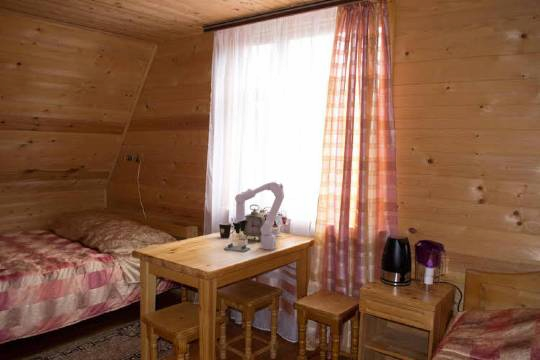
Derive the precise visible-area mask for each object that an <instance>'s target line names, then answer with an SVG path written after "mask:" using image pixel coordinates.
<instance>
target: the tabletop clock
mask: <svg viewBox="0 0 540 360" xmlns="http://www.w3.org/2000/svg"><path fill="white" fill-rule="evenodd" d="M252 206H255V207H258V208H257V209H256V208H251V207H252ZM249 209H250V210H251V213H249V214H245V217H246V220H247V223H246V226H245V230H244V231H242V234H243V235H245V238H247V239H248V237H253V240H256V238H257V237H258V241H259V242H261V230H260V229H261V227H262V226H263V225H264V223H265V221H266V218H265V216H264V215H262V214H259V213H258V211H259V210H260V205H258V204H250V205H249Z"/></svg>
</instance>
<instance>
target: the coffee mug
mask: <svg viewBox="0 0 540 360" xmlns="http://www.w3.org/2000/svg"><path fill="white" fill-rule="evenodd" d="M218 225H219V236H220V237H219V238H221V239H230V238H229V237H230V236H231V235H232V233H234V232H236V231H235V227H234V225H233V226H232V223H231V222H227V221H225V222H223V221H222V222H219V224H218ZM232 228H233V230H232ZM231 230H232V231H231Z"/></svg>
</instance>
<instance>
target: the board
mask: <svg viewBox="0 0 540 360" xmlns="http://www.w3.org/2000/svg"><path fill="white" fill-rule="evenodd" d="M223 250H224V251H231V252H238V253H246V252H248V251H250V250H251V247H248V246H246V245H244V246H238V245H234V243H228V245H227V246H226V247H224V248H223Z"/></svg>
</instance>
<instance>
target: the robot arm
mask: <svg viewBox="0 0 540 360" xmlns="http://www.w3.org/2000/svg"><path fill="white" fill-rule="evenodd" d="M264 191H271V193H273V195H274V197H275V198H274V200H273V203H272V205H271V208H270V211H269V213H268V216H267V217H266V219H265V223H264V225H263V226H262V227H261V229H260V230H261V236H260V239H261V241H260V246H259V247H258V249H262V250H264V249H265V250H270V251H272V250H274V249H276V248H277V235H275V234H273V231H274V224H275V220H276V217H277V215H278V212H279V211H280V207H281V205H282V203H283V200H284V198H285V193H284V185H283V184H282V182H281V181H280V180H275V181H271V182H268V183H265V184H263V185H260V186H258V187H256V188H247V190H245V191H241V192H240V193H238V194H236V195H235V197H234V200H235V203H236V204H235V207H236V209H235V217H234V220H233V221H234V222H232V225H233V226H234V227H235V231H234V232H235V234H237V235H239V234H240V232H243V231H244V230H245V226H246V223H247V220H246V217H245V216H246V201H248V200H251V199H253V198H255V197H256V195H257V194H260V193H262V192H264Z"/></svg>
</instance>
